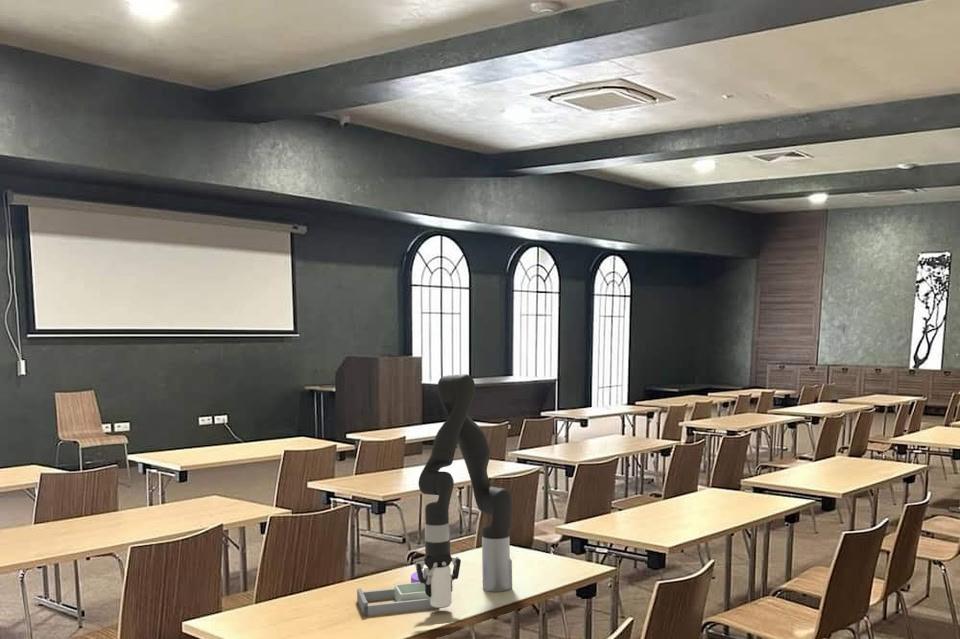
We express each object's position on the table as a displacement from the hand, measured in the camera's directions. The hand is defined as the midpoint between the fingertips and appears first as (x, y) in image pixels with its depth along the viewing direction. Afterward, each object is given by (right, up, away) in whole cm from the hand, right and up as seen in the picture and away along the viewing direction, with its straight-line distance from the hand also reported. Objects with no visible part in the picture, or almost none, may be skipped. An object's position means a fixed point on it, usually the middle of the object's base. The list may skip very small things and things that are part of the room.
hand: (438, 594), depth 229 cm
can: (+1, -3, 0) cm, 3 cm away
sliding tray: (-8, -6, +9) cm, 13 cm away
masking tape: (-5, -8, +29) cm, 31 cm away
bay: (-13, -7, +7) cm, 16 cm away
